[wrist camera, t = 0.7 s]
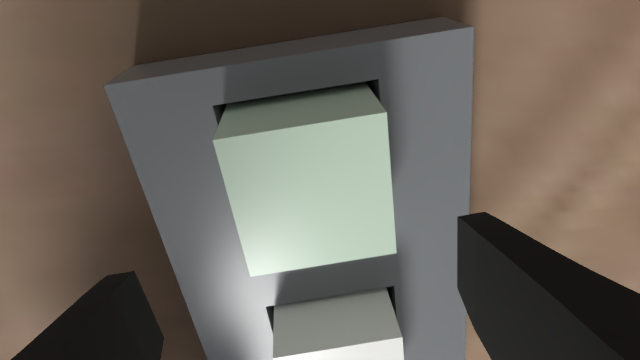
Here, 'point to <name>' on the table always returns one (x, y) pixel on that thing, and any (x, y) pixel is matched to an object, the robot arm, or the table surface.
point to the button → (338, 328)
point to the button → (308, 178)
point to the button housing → (406, 173)
